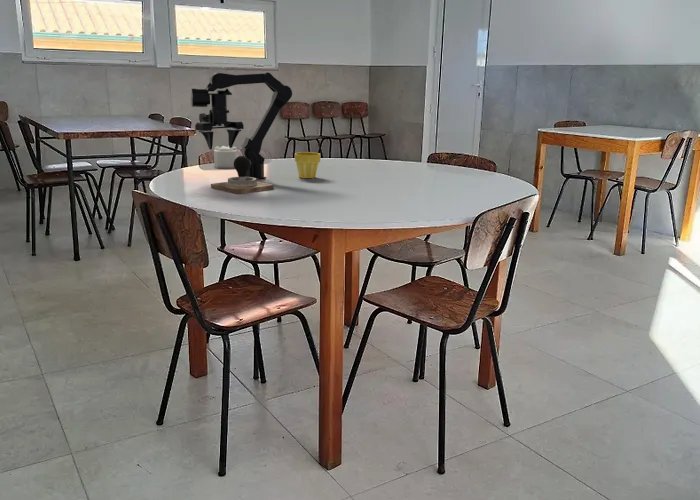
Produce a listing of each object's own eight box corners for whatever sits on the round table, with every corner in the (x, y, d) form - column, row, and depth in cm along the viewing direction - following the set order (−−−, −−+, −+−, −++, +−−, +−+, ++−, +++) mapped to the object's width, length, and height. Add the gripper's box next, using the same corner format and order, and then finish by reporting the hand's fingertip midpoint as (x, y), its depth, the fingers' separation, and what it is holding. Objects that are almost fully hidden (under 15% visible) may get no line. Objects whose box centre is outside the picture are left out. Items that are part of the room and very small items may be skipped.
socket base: (246, 183, 238) (246, 174, 237) (273, 188, 227) (273, 179, 226) (210, 187, 226) (210, 178, 225) (238, 194, 216) (237, 184, 215)
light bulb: (247, 185, 223) (246, 157, 220) (231, 184, 224) (230, 156, 222) (252, 182, 229) (252, 155, 226) (237, 182, 230) (237, 154, 227)
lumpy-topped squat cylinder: (213, 167, 276) (212, 147, 274) (216, 163, 288) (215, 144, 286) (237, 167, 277) (236, 148, 275) (238, 163, 290) (238, 144, 287)
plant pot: (325, 178, 254) (325, 154, 251) (303, 180, 248) (303, 155, 245) (311, 174, 262) (311, 151, 259) (289, 176, 256) (289, 152, 253)
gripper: (226, 105, 249) (227, 145, 253) (186, 106, 236) (187, 148, 240) (244, 107, 242) (245, 147, 246) (203, 108, 229) (204, 151, 233)
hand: (220, 148), depth 242 cm, fingers open, 9 cm apart
